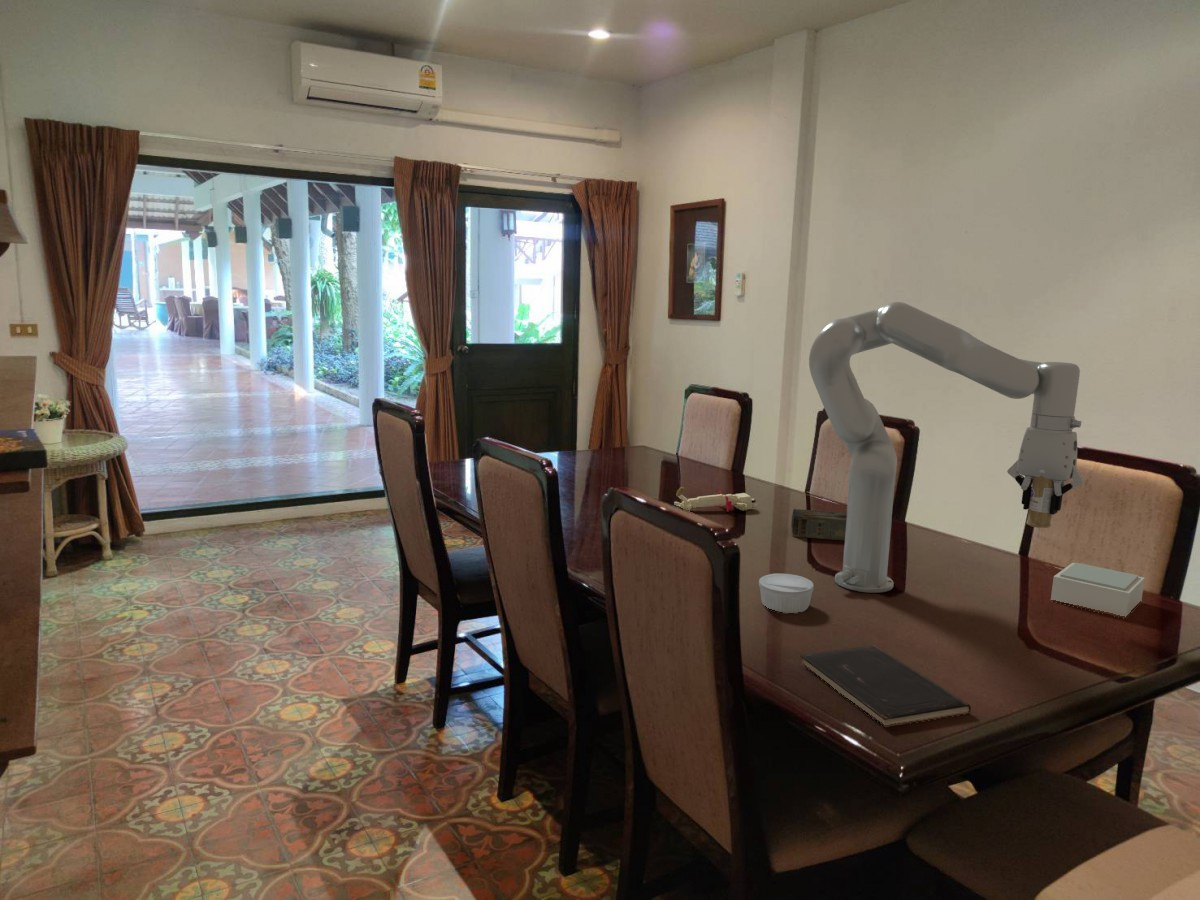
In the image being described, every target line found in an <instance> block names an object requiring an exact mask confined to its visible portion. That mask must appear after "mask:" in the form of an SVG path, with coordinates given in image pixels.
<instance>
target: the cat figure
mask: <svg viewBox="0 0 1200 900" xmlns="http://www.w3.org/2000/svg"><path fill="white" fill-rule="evenodd" d="M685 491H686V489H685V487H684V486H679V488H678V489H677V490H676V495H675V496H676V497H678V498H679V499H680V500H682V501H681V502H679V501H673V506H674V505H676V506H679V507H681V508H683V509H686V510H689V511H688V512H691V511H690V509H691V508H692V507H693V508H696V507H703V508H708V507H716V506H718V507H719V506H720V507H726V511H727V512H728V513H729V512H730V510H733V509H734V507H735V508H736V509H737V510H738V509H739V511H741V512H742V511H743V512H744V511H747V510H751V509H754V508H755V507H756V506H757V505H758V503H756V498H752V496H750V495H749V494H747V493H746V492H741V493H735V494H731V493H728V494H722V492H721V490H719V491H718V493H717V494H711V495H702V496H697V497H694V498H693V497H692V498H687V497H685V496H684V495H683V494H684V493H685ZM687 508H688V509H687ZM726 511H725V512H726Z"/></svg>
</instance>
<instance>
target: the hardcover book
mask: <svg viewBox="0 0 1200 900" xmlns="http://www.w3.org/2000/svg"><path fill="white" fill-rule="evenodd" d="M799 657H800V658H801V659H802V664H803V663H804V664H805V665H806V666H807V667H809V668H810V669H811V670H812V671H814V672H815V673H816V674H817V675H819V676H820V677H821V678H822V679H824V680H825V681H826V682H827V683H829V684H830V685H831V686H832V687H833V688H834V689H833V688H832V687H831V686H830V687H831V688H832V689H833V690H835V689H836V690H837V691H838V692H837V691H836V690H835V691H836V692H837V693H838V694H840V693H841V694H842V695H841V694H840V695H841V696H843V695H844V696H845V697H846V698H848V699H849V700H851V701H852V702H853V703H855V704H856V705H858V706H859V707H861V708H862V709H863V710H865V711H866V712H868V713H869V714H870V715H872V716H873V717H875V718H876V719H877V720H879V721H880V722H882V723H883V724H884V725H890V724H895V723H896V724H897V723H903V722H909V721H916V720H923V719H928V718H934V717H939V716H946V715H952V714H958V713H964V712H970V713H971V708H972V707H971V705H970V704H969V703H967V702H966V701H964V700H963V699H961V698H960V697H958V696H957V695H955V694H953V693H951V692H950V691H948V690H946V689H945V688H944V687H942V686H941V685H939V684H937V683H936V682H934V681H932V680H931V679H930V678H928V677H926V676H925V675H923V674H921V673H920V672H919V671H916V670H915V669H914V668H912V667H910V666H909V665H907V664H906V663H904V662H903V661H901V660H899V659H897V657H895V656H893V655H891V654H890V653H888V652H887V651H884V650H883V649H882V648H881V647H879V646H877V645H875V644H874V645H867V646H859V647H851V648H844V649H838V650H837V649H836V650H829V651H822V652H813V653H807V654H800V655H799ZM822 679H821V680H822ZM826 682H825V683H826ZM827 683H826V684H827ZM844 696H843V697H844ZM845 697H844V698H845ZM846 698H845V699H846ZM848 699H847V700H848ZM849 700H848V701H849ZM852 702H851V703H852ZM853 703H852V704H853ZM856 705H855V706H856Z"/></svg>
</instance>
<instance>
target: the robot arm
mask: <svg viewBox="0 0 1200 900" xmlns="http://www.w3.org/2000/svg"><path fill="white" fill-rule="evenodd" d="M824 326H825V327H823V328H822V329H821V330H820V332H819V333H818V334H817V336H816V338H815V339H814V341H813V343H812V345H811V348H810V352H809V356H808V357H809V358H808V365H809V372H810V376H811V378H812V382H813V384H814V386H815V389H816V391H817V394H818V395H819V398H820V401H821V404H822V405H823V407H824V410H825V412H826V415H827V417H828V419H829V422H830V425H831V427H832V430H833V432H834V434H835V436H836V437H838V439H840V440H841V441H843V442H844V444H845V447H846V449H847V451H848V453H849V455H850V458H851V460H850V464H849V470H848V487H847V488H848V491H847V507H846V513H847V519H846V532H845V540H844V546H843V559H842V560H843V561H842V571H838V572H837V573H835V576H834V582H835V583H836V584H837V585H838V586H840V587H842V588H845V589H847V590H850V591H855V592H856V591H857V592H862V593H868V594H869V593H871V594H872V593H873V594H875V593H876V594H877V593H885V592H889V591H891V590H892V589H893V588H894V584H895V583H894V581H893V580H892V578H890V577H889V576H888V566H889V557H890V556H889V554H890V542H891V533H892V532H891V531H892V530H891V529H892V517H893V506H894V505H893V504H894V496H895V485H896V475H897V467H898V456H897V453H896V450H895V447H894V445H893V443H892V440H891V439H890V437H889V434H888V432H887V430H886V428H885V426H884V423H883V421H882V418H881V416H880V414H879V412H878V410H877V409H876V407H875V405H874V404H873V403H872V402H871V401H870V400H869V399H867V398H865V397H864V394H863V393H862V391H861V389H860V386H859V384H858V382H857V378H856V376H855V374H854V373H853V369H852V367H851V363H850V362H851V357H852V356H853V355H856V354H859V353H863V352H867V351H870V350H873V349H877V348H881V347H884V346H887V345H891V344H893V345H895V346H898V347H900V348H902V349H904V350H906V351H908V352H911V353H912V354H914V355H916V356H919V357H921V358H923V359H925V360H927V361H929V362H931V363H933V364H935V365H937V366H940V367H942V368H943V369H945V370H948V371H951V372H953V373H956V374H959V375H961V376H963V377H964V378H967V379H969V380H971V381H972V382H975V383H978V384H979V385H981V386H983V387H986V388H988V389H990V390H992V391H994V392H996V393H998V394H1000V395H1002V396H1004V397H1007V398H1010V399H1015V400H1016V399H1017V400H1019V399H1025V398H1027V397H1030V396H1031V395H1033V403H1032V412H1031V417H1030V426H1028V427H1026V429H1025V432H1024V434H1023V438H1022V440H1021V441H1022V442H1021V445H1020V449H1019V454H1018V458H1017V460H1016V461H1015V462H1014V463H1013V464H1012V465H1011V466H1010V467H1009V468H1008V469H1007V471H1006V472H1007V474H1008V475H1010V476H1011V478H1013V480H1015V481H1016V482H1017V484H1018V485H1019V486H1020V489H1021V490H1022V495H1021V502H1020V503H1021V505H1023V507H1022V510H1024V511H1025V510H1026V511H1027V510H1029V502H1030V495H1031V488H1032V483H1033V477H1040V476H1043V477H1045V478H1047V479H1049V480H1053V481H1054V489H1055V492H1054V495H1052V497H1051V505H1050V512H1049V513H1050V514H1051V516H1054V515H1056V514H1058V512H1059V511H1061V510H1062V502H1063V496H1064V494H1066V493H1067V492H1069V491H1070V490H1072V489H1074V488H1077V487H1079V486H1081V485H1083V484H1085V480H1084V479H1083V476H1081V474H1080V472H1079V470H1078V469H1077V467H1078V466H1077V462H1078V435H1077V432H1076V431H1073V430H1074V429H1076V428H1081V426H1082V420H1078V419H1076V417H1075V411H1076V404H1077V398H1078V397H1077V396H1078V390H1079V383H1080V373H1081V370H1080V367H1079V365H1078V364H1075V363H1073V362H1063V361H1060V362H1059V361H1046V362H1041V361H1040V362H1039V361H1032V360H1027V359H1021V358H1018V357H1015V356H1013V355H1011V354H1010V353H1006V352H1005V351H1002V350H1001V349H998V348H996V347H994V346H992V345H990V344H988V343H986V342H984V341H982V340H980V339H978V338H977V337H975V336H974V335H972V334H971V333H969V332H967V331H966V330H964V329H963V328H961V327H958V326H956V325H954V324H952V323H949V322H947V321H944V320H943V319H941V318H938V317H936V316H933V315H931V314H929V313H927V312H925V311H923V310H922V309H918V308H916V307H915V306H912V305H910V304H908V303H905V302H900V301H894V302H890V303H888V304H886V305H884V306H881V307H878V308H876V309H872V310H869V311H865V312H862V313H861V312H860V313H858V314H854V315H850V316H848V317H844V318H838V319H837V318H836V319H835V320H832V321H830V322H829V323H828V324H827V325H824ZM1040 470H1044V471H1045V473H1041V472H1039V471H1040ZM1040 474H1043V475H1040ZM1070 479H1072V481H1071V482H1068V483H1066V484H1065V482H1066V481H1069V480H1070Z"/></svg>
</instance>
